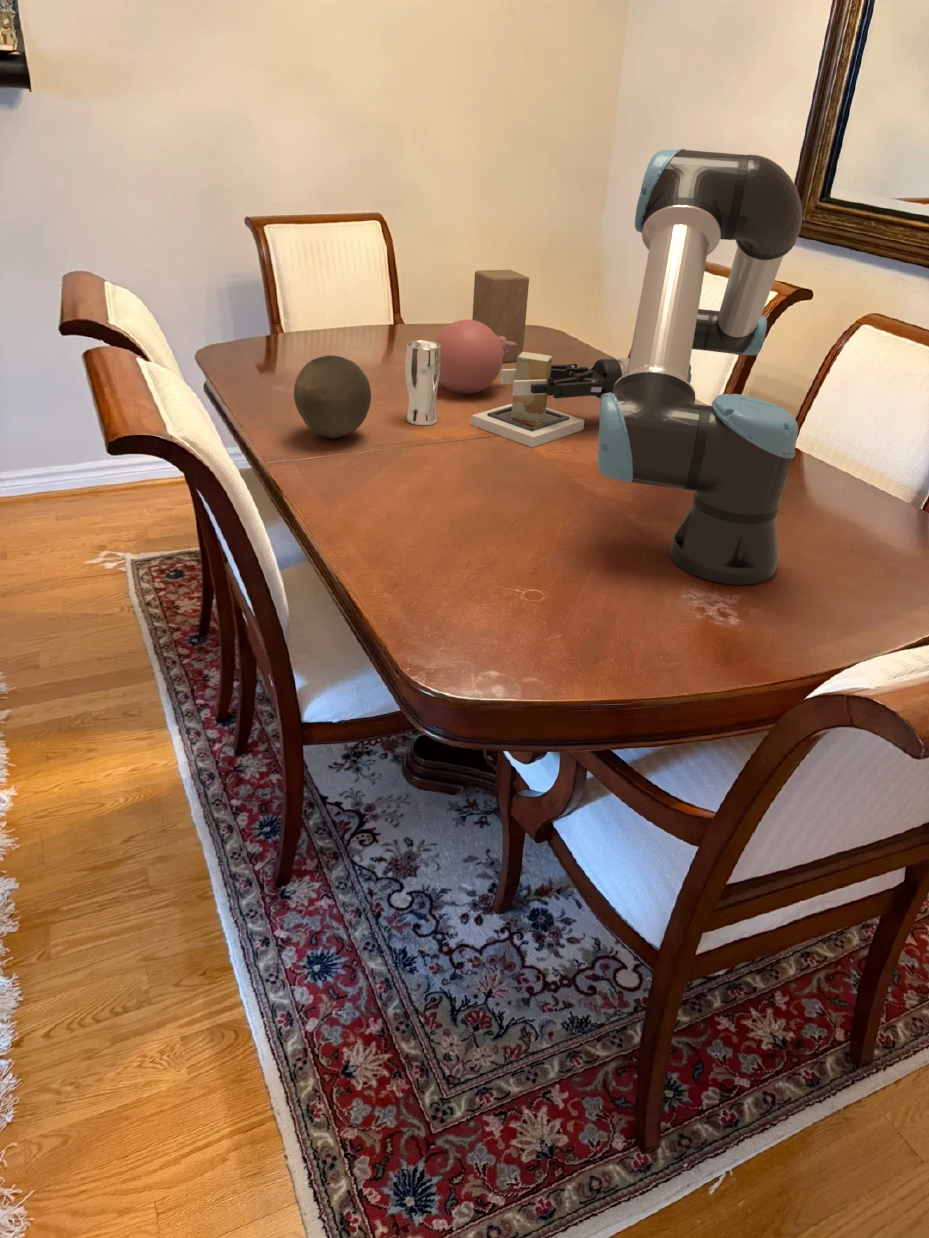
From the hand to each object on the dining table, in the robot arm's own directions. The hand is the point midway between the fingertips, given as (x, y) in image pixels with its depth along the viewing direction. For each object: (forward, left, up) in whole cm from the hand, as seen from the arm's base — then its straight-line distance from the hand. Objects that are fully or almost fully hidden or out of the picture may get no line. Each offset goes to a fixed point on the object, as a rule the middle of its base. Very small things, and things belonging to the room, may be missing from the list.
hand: (507, 382), depth 165 cm
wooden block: (+38, +36, -9) cm, 54 cm away
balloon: (+13, +20, -9) cm, 26 cm away
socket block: (+4, -3, -9) cm, 10 cm away
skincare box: (+4, -3, -7) cm, 9 cm away
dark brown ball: (-30, +16, -9) cm, 35 cm away
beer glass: (-10, +13, -9) cm, 19 cm away
